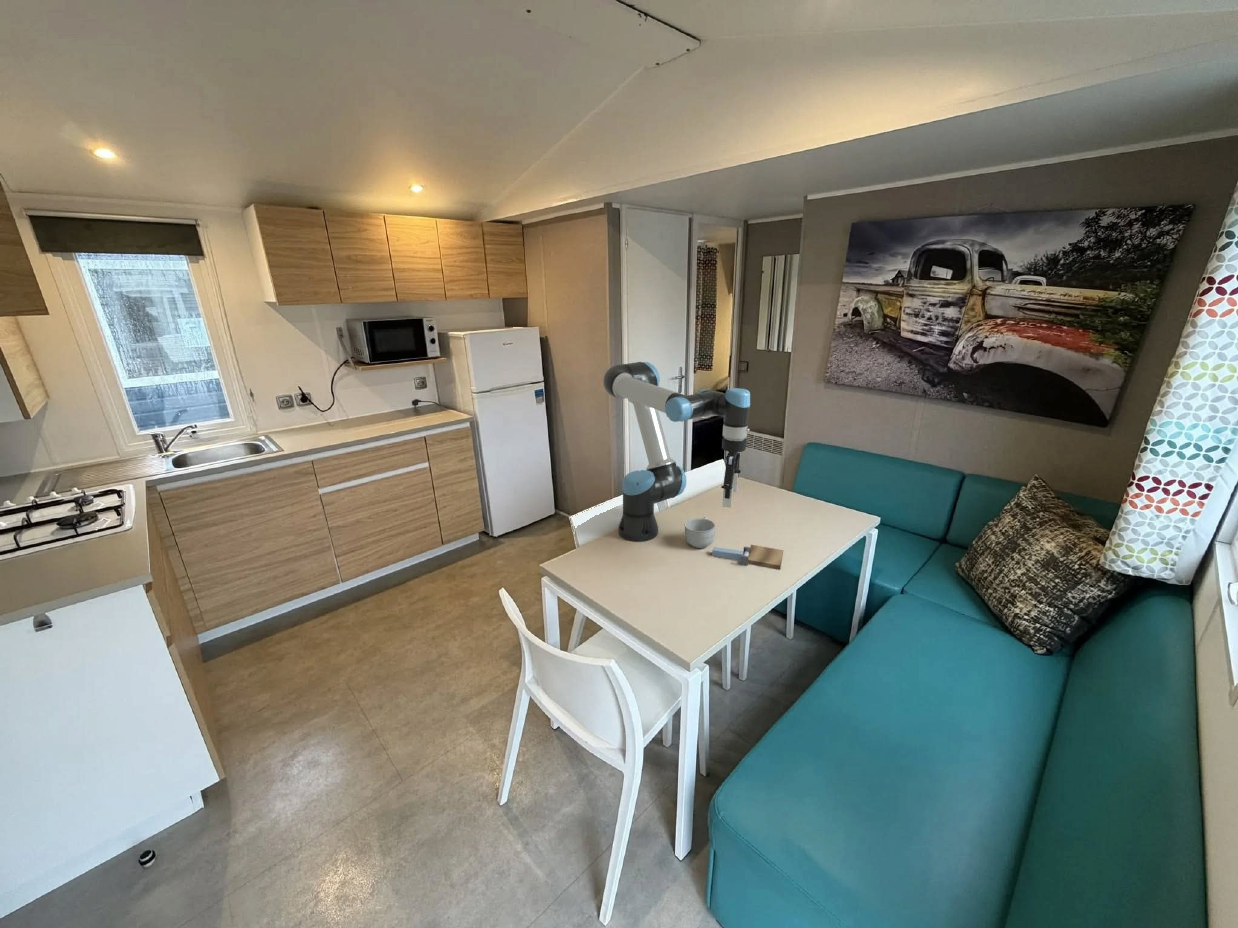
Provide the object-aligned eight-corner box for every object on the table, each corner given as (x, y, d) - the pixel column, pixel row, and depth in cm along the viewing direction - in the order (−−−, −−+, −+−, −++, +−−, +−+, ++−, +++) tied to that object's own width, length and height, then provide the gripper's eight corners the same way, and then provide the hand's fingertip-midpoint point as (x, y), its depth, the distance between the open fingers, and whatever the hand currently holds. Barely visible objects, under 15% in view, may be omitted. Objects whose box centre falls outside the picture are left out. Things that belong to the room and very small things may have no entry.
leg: (748, 557, 165) (749, 550, 165) (746, 563, 161) (747, 556, 161) (714, 552, 170) (714, 545, 169) (711, 558, 166) (711, 551, 165)
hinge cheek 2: (740, 564, 161) (740, 556, 160) (740, 563, 162) (741, 555, 161) (747, 565, 160) (748, 557, 159) (747, 564, 161) (748, 556, 160)
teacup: (705, 554, 168) (706, 533, 165) (678, 545, 174) (678, 525, 171) (723, 539, 178) (724, 519, 176) (696, 531, 184) (697, 512, 182)
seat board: (746, 563, 162) (746, 559, 161) (750, 548, 171) (751, 544, 171) (780, 569, 158) (780, 565, 157) (783, 553, 167) (783, 550, 167)
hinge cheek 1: (743, 555, 166) (743, 547, 165) (743, 554, 167) (744, 546, 166) (750, 556, 166) (750, 549, 165) (750, 555, 166) (751, 547, 165)
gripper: (741, 450, 142) (736, 515, 149) (750, 428, 164) (745, 486, 171) (716, 447, 144) (711, 512, 151) (728, 427, 166) (724, 484, 173)
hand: (729, 498), depth 161 cm, fingers open, 13 cm apart
